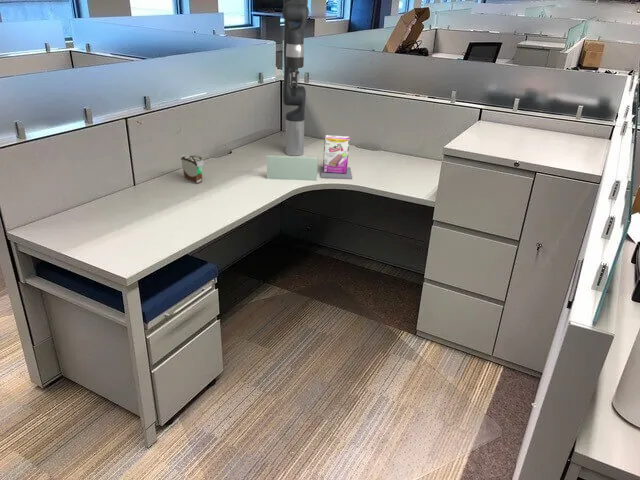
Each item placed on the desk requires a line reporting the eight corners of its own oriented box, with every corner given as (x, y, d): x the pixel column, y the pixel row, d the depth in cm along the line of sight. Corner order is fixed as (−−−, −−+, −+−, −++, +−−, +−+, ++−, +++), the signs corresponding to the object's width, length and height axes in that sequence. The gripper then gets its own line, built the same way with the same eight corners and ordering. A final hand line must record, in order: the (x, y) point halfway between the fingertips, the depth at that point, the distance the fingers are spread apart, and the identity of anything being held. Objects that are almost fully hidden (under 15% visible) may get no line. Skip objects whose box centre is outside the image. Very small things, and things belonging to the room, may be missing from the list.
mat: (320, 167, 238) (320, 166, 238) (350, 168, 239) (350, 167, 238) (321, 178, 226) (321, 176, 225) (352, 179, 226) (352, 177, 226)
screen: (267, 177, 224) (267, 155, 219) (316, 178, 225) (317, 157, 220) (266, 178, 222) (266, 156, 218) (316, 180, 223) (317, 158, 218)
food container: (211, 181, 216) (209, 159, 212) (198, 185, 212) (197, 162, 208) (194, 174, 224) (192, 152, 219) (182, 177, 219) (180, 155, 215)
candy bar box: (322, 173, 230) (324, 137, 222) (323, 169, 234) (324, 134, 226) (347, 174, 229) (349, 139, 222) (347, 170, 234) (349, 136, 226)
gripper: (303, 57, 206) (302, 98, 213) (304, 53, 218) (303, 91, 226) (285, 57, 206) (284, 97, 213) (286, 52, 218) (286, 90, 226)
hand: (294, 94), depth 219 cm, fingers open, 8 cm apart
